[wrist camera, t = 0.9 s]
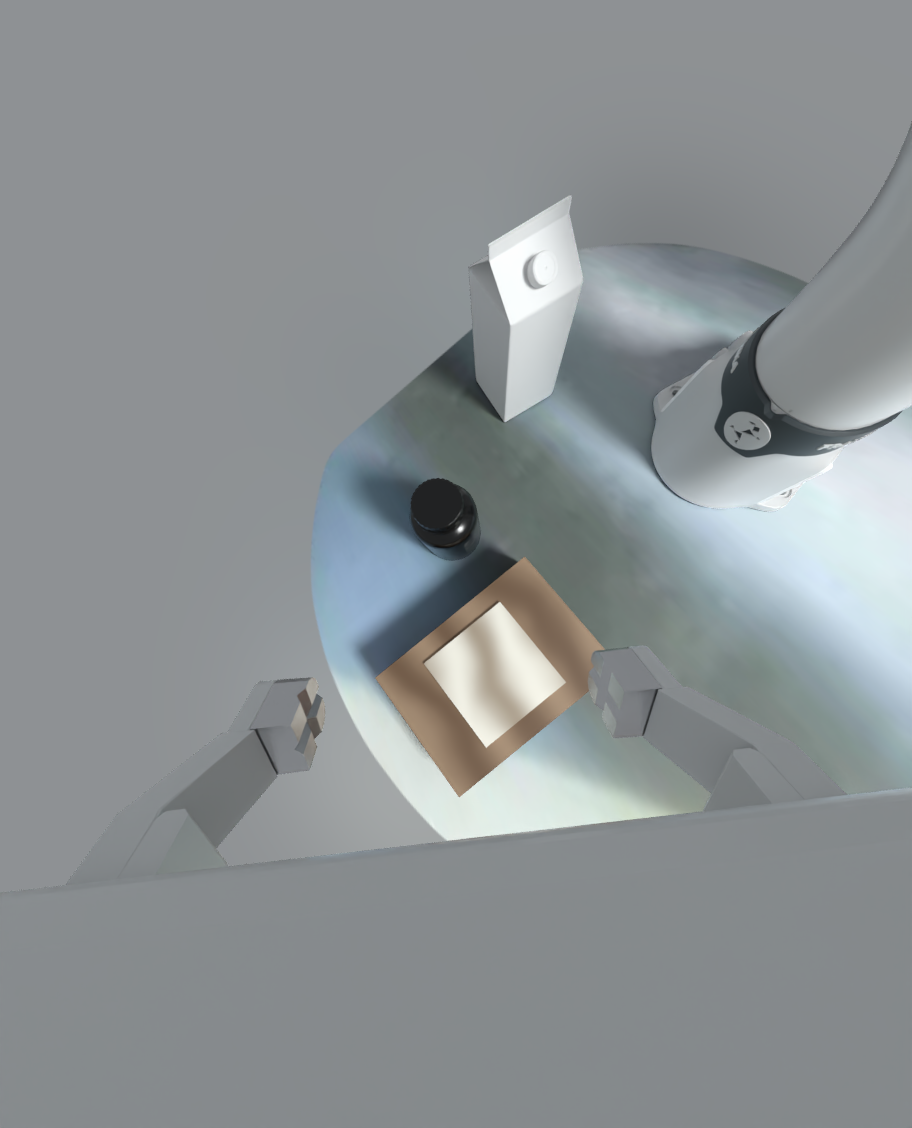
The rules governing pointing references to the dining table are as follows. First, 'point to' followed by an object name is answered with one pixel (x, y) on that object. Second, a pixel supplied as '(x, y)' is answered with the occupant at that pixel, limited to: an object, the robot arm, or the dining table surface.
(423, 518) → the supplement bottle
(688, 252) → the dining table surface
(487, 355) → the milk carton
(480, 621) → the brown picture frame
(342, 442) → the dining table surface
